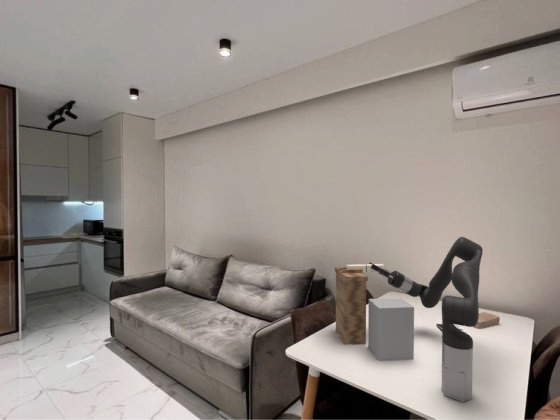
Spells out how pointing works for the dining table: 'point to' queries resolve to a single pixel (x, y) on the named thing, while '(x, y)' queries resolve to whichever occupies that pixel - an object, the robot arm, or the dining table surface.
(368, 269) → the domino bar
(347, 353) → the dining table surface
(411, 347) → the grey step block
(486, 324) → the brick
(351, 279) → the walnut shelf
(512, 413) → the dining table surface
